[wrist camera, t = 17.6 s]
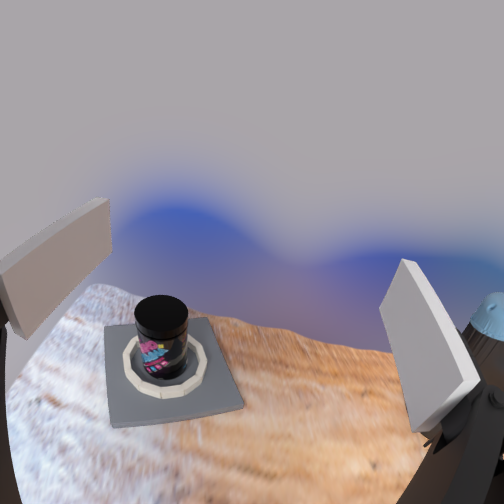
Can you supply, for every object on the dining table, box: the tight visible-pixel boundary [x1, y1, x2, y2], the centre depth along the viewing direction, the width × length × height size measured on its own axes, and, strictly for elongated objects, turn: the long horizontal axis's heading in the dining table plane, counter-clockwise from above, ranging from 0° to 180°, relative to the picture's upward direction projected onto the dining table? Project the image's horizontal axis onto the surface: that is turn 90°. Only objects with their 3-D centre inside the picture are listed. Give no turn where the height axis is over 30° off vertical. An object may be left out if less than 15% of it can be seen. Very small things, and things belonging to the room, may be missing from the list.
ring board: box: [104, 317, 244, 428], centre depth 38 cm, size 18×18×3 cm
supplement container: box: [134, 295, 188, 380], centre depth 36 cm, size 7×7×10 cm
